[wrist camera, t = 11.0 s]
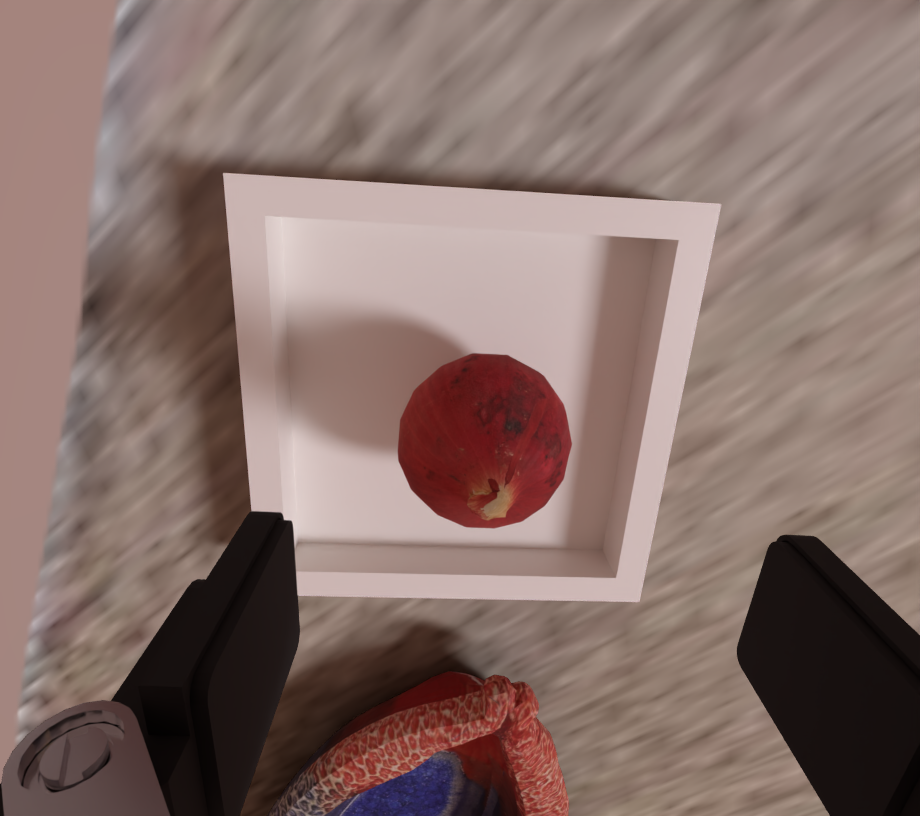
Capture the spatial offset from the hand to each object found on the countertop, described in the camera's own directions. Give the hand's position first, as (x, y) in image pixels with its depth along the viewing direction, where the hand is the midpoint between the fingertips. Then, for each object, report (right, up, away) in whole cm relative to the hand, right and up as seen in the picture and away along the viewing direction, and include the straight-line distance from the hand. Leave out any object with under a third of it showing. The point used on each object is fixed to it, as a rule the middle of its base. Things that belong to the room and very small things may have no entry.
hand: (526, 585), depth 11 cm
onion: (-1, +4, +12) cm, 12 cm away
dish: (-5, -21, +22) cm, 31 cm away
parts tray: (-1, +4, +12) cm, 13 cm away
